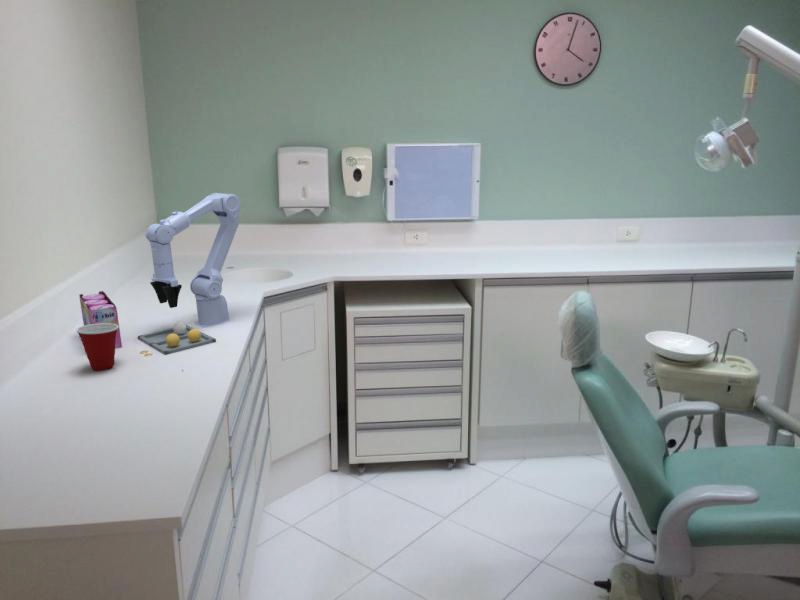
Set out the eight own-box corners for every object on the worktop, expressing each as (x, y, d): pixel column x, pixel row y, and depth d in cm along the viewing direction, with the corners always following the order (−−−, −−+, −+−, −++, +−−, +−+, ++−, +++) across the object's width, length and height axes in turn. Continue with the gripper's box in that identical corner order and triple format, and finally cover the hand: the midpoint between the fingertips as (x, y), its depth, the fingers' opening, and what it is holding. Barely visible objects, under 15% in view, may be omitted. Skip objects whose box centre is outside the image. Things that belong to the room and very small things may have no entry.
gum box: (83, 333, 223) (77, 293, 219) (109, 329, 227) (103, 289, 223) (95, 354, 203) (88, 310, 199) (123, 348, 207) (116, 305, 203)
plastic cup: (132, 363, 194) (126, 323, 190) (99, 376, 185) (92, 334, 181) (107, 358, 199) (101, 318, 196) (74, 370, 190) (67, 329, 187)
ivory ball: (183, 331, 220) (182, 319, 219) (189, 334, 217) (187, 322, 216) (171, 334, 217) (170, 322, 216) (177, 337, 214) (175, 324, 213)
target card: (149, 349, 205) (149, 348, 205) (160, 356, 199) (159, 354, 199) (132, 353, 202) (132, 352, 202) (143, 360, 196) (142, 358, 196)
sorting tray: (186, 328, 224) (186, 324, 224) (216, 343, 209) (215, 339, 208) (138, 340, 214) (137, 336, 214) (165, 356, 199) (164, 352, 198)
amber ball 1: (177, 343, 208) (175, 330, 207) (182, 346, 205) (181, 333, 204) (164, 346, 206) (162, 334, 205) (170, 349, 203) (168, 336, 202)
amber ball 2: (198, 338, 212) (196, 326, 211) (204, 341, 209) (202, 329, 208) (186, 341, 210) (184, 329, 208) (191, 344, 207) (190, 332, 206)
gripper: (141, 261, 215) (146, 303, 219) (159, 268, 204) (165, 312, 208) (163, 258, 219) (168, 298, 223) (182, 264, 209) (187, 307, 212)
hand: (168, 304), depth 216 cm, fingers open, 7 cm apart
